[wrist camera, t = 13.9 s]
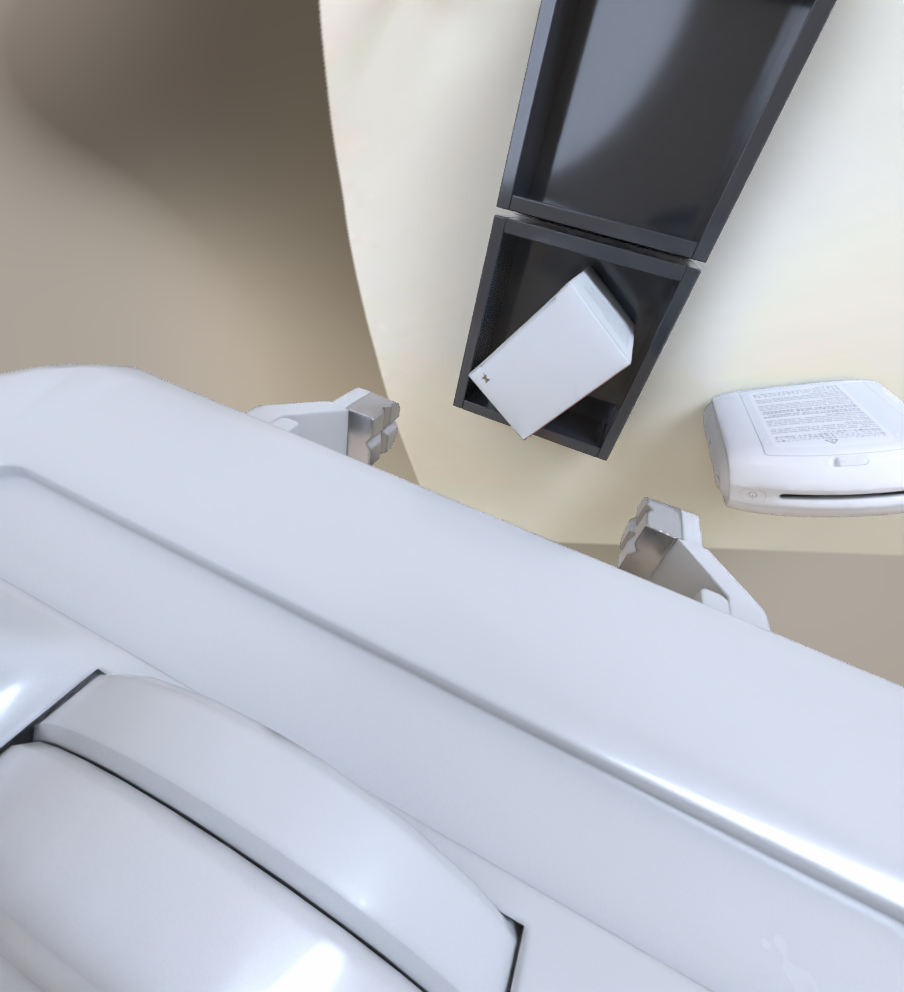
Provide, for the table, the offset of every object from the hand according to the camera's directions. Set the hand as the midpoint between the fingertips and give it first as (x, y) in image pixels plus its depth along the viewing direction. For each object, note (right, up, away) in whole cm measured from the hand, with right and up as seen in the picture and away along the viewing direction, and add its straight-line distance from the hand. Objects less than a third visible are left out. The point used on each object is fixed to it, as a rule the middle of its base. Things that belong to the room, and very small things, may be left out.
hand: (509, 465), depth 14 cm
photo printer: (+22, +5, +18) cm, 29 cm away
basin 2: (+7, +12, +20) cm, 24 cm away
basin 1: (+10, +22, +12) cm, 27 cm away
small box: (+7, +12, +20) cm, 24 cm away
